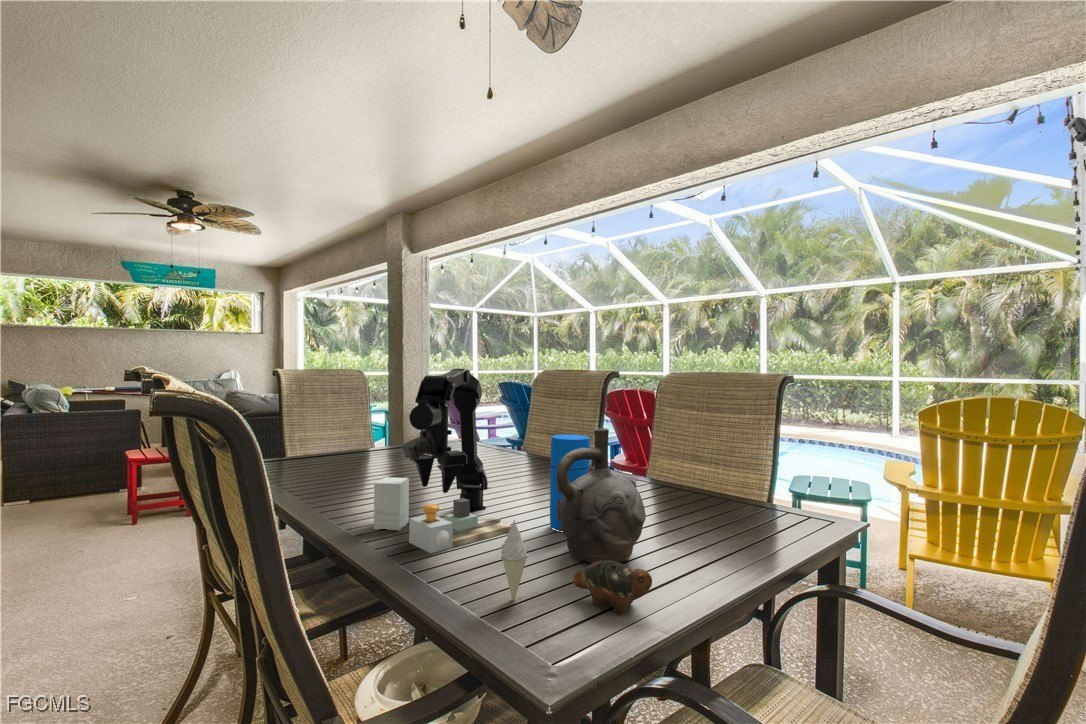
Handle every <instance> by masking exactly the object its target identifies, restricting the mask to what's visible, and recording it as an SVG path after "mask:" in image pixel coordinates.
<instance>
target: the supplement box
mask: <svg viewBox="0 0 1086 724" xmlns="http://www.w3.org/2000/svg"><path fill="white" fill-rule="evenodd" d="M373 485H374V486H373V487H374V488H373V491H374V492H373V499H374V500H373V502H374V503H373V529H374V530H379V529H387V530H386V531H401V530H402V529H403V528H404V527H405V526H406V525H408V524H409V523H410V518H409V512H410V511H409V510H410V509H409V508H410V507H409V505H410V504H409V501H410V500H409V499H410V491H409V488H410V478H409V477H389V476H388V477H387V476H385V477H383V478H381V479H380V480H377V481H376V482H374V483H373ZM407 523H408V524H407ZM403 526H404V527H403ZM402 527H403V528H402ZM401 528H402V529H401Z"/></svg>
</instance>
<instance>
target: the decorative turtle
mask: <svg viewBox="0 0 1086 724" xmlns="http://www.w3.org/2000/svg"><path fill="white" fill-rule="evenodd" d="M572 580H573V584H574V586H575V587H577V588H580V589H585V590H588V591H589V592H590V595H591V598H592V603H593V605H594V606H595V607H597V608H601V607H603V606H605V605H606V604H607V603H609V604H610V605H611V606H612V608H613V609H614V612H615V613H616V614H617V613H618V615H623V614H624V613H625V612H626V611H627V609H628V607H629V606H630V605H631V604H632V603H633V602H634V601H636V600H638V599H640V598H642V597H643V596H645V595H646V594H647V593H648V592H649V591H650V590H651V588H652V585H653V578H652V576H651V574H650V573H649V572H648V571H646V570H645V569H643V568H636V569H634V570H632V568H630V567H629V566H628V565H626V564H624V563H621V562H620V561H619V562H616V561H611V560H602V561H597V562H594V563H592V562H591V563H590V565H588V566H587V567H585V569H584V570H577V571H575V572H574V573H573V579H572ZM629 604H630V605H629Z"/></svg>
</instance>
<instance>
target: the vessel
mask: <svg viewBox="0 0 1086 724" xmlns="http://www.w3.org/2000/svg"><path fill="white" fill-rule="evenodd" d="M593 429H594V430H593V432H594V448H591V447H590V448H580V449H576V450H573V451H571V452H569V453H567V454H566V455H565V456H564V457H563V458H562V460H561V461H560V463H559V465H558V469H557V484H558V486H559V488H560V490H561V491H562V493H563V496H562V500H561V501H560V504H559V509H558V511H559V516H560V519H561V525H562V529H563V532H564V533H563V535H564V537H565V539H566V547H567V549H568V551H569V552H568V553H570V554H571V555H572V556H573V557H574V558H577V560H578V559H579V560H581V561H584V562H588V563H591V564H592V563H594V562H597V561H602V560H611V561H616V562H619V563H620V562H624V561H626V560H628V559H629V558H630V557H631V556H632V554H633V550H634V546H635V545H636V543H637V542H638V541H639V538H640V537H641V535H642V532H643V526H644V524H645V522H646V515H647V514H646V509H645V505H644V502H643V498H642V496H641V493H640V491H639V490H638V489H637V484H636V481H635V480H633V479H631V478H629V477H627V476H625V475H621V474H618V473H614V472H612V471H611V469H610V467H609V436H610V435H609V429H608V428H605V427H603V428H602V427H601V428H599V427H597V428H593ZM583 459H587V460H590V461H594V468H593V470H592V471H590V473H588V474H585V475H583V476H581V477H579V478H577V479H576V480H575V481H574V482H573V483H570V482H569V480H568V470H569V468H570V466H571V465H572V464H573V463H574V462H575V461H577V460H583Z"/></svg>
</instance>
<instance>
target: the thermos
mask: <svg viewBox="0 0 1086 724" xmlns="http://www.w3.org/2000/svg"><path fill="white" fill-rule="evenodd" d="M550 439H551V441H550V475H549V476H550V478H549V479H550V480H549V481H550V482H549V487H550V489H549V491H550V493H549V495H550V496H549V519H550V520H549V526H551V527H552V528H554V529H556V530H559V531H563V529H562V525H561V519H560V516H559V511H558V509H559V504H560V501H561V500H562V496H563V493H562V491H561V490H560V488H559V486H558V484H557V469H558V465H559V463H560V461H561V460H562V458H563V457H564V456H565V455H566V454H567V453H569V452H571V451H573V450H576V449H580V448H591V439H590V437H589V435H583V434H581V435H580V434H555V435H552V436H551V438H550ZM588 473H591V460H587V459H583V460H577V461H575V462H574V463H573V464H572V465H571V466H570V468H569V470H568V480H569V482H570V483H573V482H574V481H575V480H576V479H577V478H579V477H581V476H583V475H585V474H588ZM551 527H550V528H551Z"/></svg>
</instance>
